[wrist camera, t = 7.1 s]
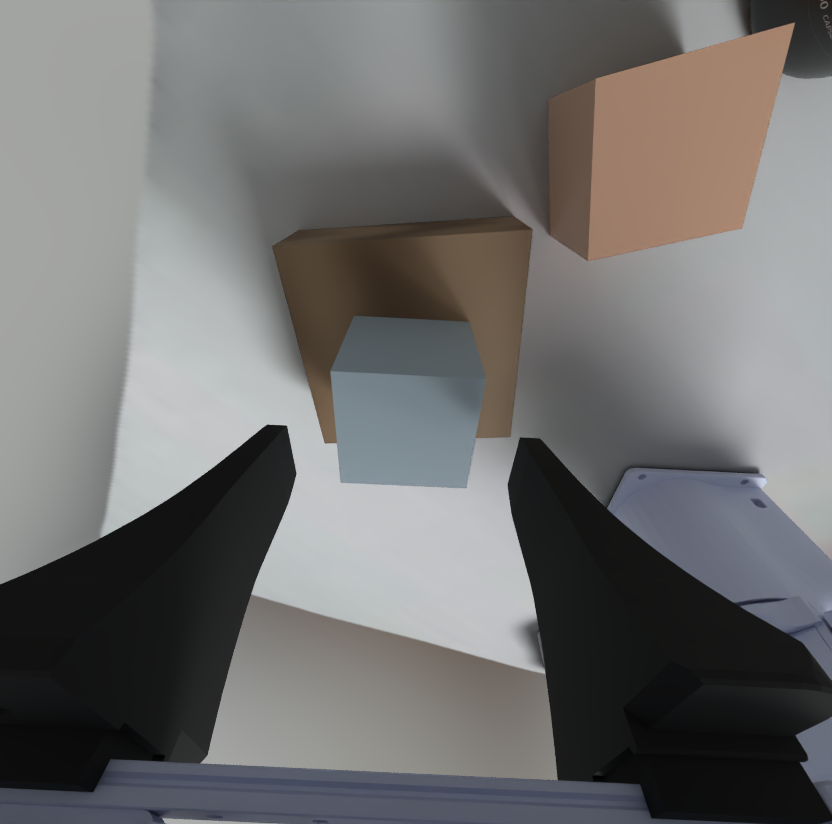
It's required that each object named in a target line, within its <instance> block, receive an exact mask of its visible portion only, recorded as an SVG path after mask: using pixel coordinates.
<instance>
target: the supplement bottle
mask: <svg viewBox="0 0 832 824" xmlns="http://www.w3.org/2000/svg"><path fill="white" fill-rule="evenodd" d="M750 22H751V29H752V33H753V34H756V33H759V32H763V31H766V30H770V29H773V28H777V27H780V26H784V25H788V24H791V23H795V25H794V29H793V33H792V36H791V40H790V44H789V48H788V52H787V56H786V60H785V64H784V67H783V71H782V73H783V74H785V75H788V76H792V77H796V78H804V79H808V78H823V77H829V76H832V0H750Z"/></svg>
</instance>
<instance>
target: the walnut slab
mask: <svg viewBox="0 0 832 824" xmlns="http://www.w3.org/2000/svg"><path fill="white" fill-rule="evenodd" d="M531 239H532V229H531V228H530V227H528V226H527V225H525V224H524V223H523V222H521V221H520V220H518V219H517V218H516V217H514V216H509V217H494V218H479V219H464V220H449V221H434V222H419V223H404V224H389V225H374V226H359V227H343V228H328V229H313V230H298V231H297V232H295V233H294V234H292V235H290V236H289V237H287V238H285V239H284V240H282V241H280V242H279V243H277V244H275V245H274V246H272V247H273V251H274V255H275V258H276V262H277V266H278V270H279V273H280V277H281V281H282V285H283V289H284V292H285V296H286V300H287V304H288V307H289V311H290V315H291V319H292V322H293V326H294V330H295V334H296V337H297V341H298V345H299V349H300V352H301V356H302V360H303V364H304V367H305V371H306V375H307V379H308V382H309V386H310V390H311V394H312V397H313V401H314V405H315V409H316V412H317V416H318V420H319V424H320V427H321V431H322V435H323V439H324V442H325V443H337V437H336V427H335V416H334V405H333V394H332V384H331V373H330V371H331V368H332V366H333V364H334V361H335V359H336V357H337V354H338V352H339V350H340V347H341V345H342V343H343V340H344V338H345V336H346V333H347V331H348V329H349V326H350V324H351V322H352V319H353V317H354V316H370V317H389V318H407V319H426V320H445V321H463V322H470V325H471V328H472V331H473V335H474V338H475V342H476V345H477V349H478V352H479V356H480V359H481V363H482V366H483V369H484V373H485V376H486V383H485V389H484V394H483V400H482V405H481V411H480V416H479V422H478V427H477V433H476V438H496V437H510V434H511V425H512V416H513V407H514V397H515V388H516V379H517V369H518V360H519V351H520V342H521V332H522V323H523V314H524V304H525V295H526V286H527V277H528V267H529V258H530V249H531Z"/></svg>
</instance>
